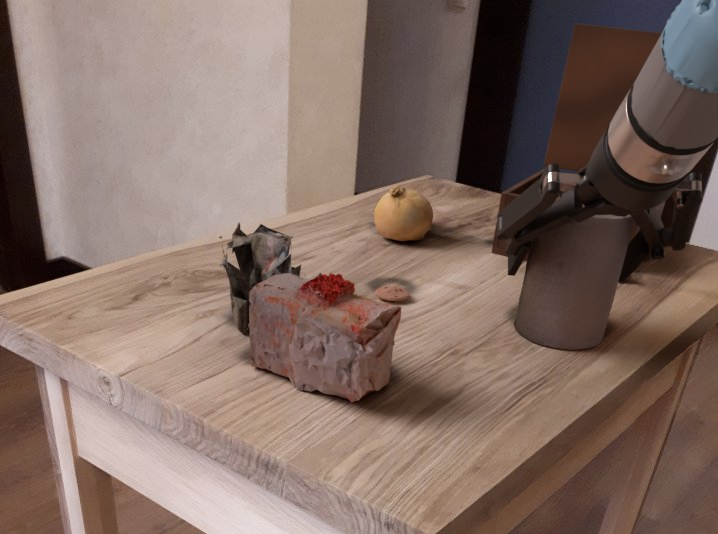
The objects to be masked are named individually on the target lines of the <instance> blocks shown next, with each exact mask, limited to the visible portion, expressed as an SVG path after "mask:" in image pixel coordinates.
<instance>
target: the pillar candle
mask: <svg viewBox="0 0 718 534" xmlns="http://www.w3.org/2000/svg"><path fill="white" fill-rule="evenodd" d="M583 207H585V206H584V205H583ZM634 223H635V222H634V220H633V218H632V216H630V215H627V216H626V217H623V216H615V215H610V214H609V215H595V216H593V217H590V218H588V219H586V220H584V221H582V222H579V223H578V222H576V221H574V220H573V221H571V222H569V223H567V224H565V225H562V226H560V227H558V228H556V229H554V230H552V231H550V232H548V233H545V234H543V235H541V236H539V237H537V238H535V239H533V240H531V248H530V250H529V253H528V258H527V261H526V264H525V270H524V276H523V281H522V285H521V290H520V293H519V297H518V304H517V311H516V316H515V318H514V322H513V325H514V329H515V331H516V332H517V333H518V334H519V335H520V336H522V337H523V338H525V339H527V340H528V341H531V342H532V343H536V344H538V345H540V346H544V347H550V348H553V349H559V350H573V351H575V350H585V349H591V348H594V347H596V346H598V345H600V343H601V342H602V340H603V338H604V336H605V332H606V328H607V325H608V321H609V318H610V314H611V311H612V308H613V303H614V300H615V296H616V293H617V289H618V285H619V282H618V281H619V277H620V274H621V270H622V267H623V263H624V259H625V255H626V252H627V248H628V244H629V241H630V237H631V234H632V230H633V226H634Z"/></svg>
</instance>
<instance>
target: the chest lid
mask: <svg viewBox="0 0 718 534" xmlns="http://www.w3.org/2000/svg"><path fill="white" fill-rule="evenodd" d="M661 34H662V32H657V31H648V30H647V31H646V30H638V29H630V28H621V27H613V26H611V27H610V26H603V25H594V24H586V23H576V22H575V23H574V25H573V29H572V34H571V37H570V38H571V39H570V43H569V47H568V52H567V57H566V61H565V65H564V69H563V75H562V80H561V84H560V89H559V92H558V97H557V101H556V107H555V112H554V116H553V121H552V125H551V130H550V134H549V138H548V142H547V148H546V153H545V157H544V162H543V166H545V167H547V165H549V164H558V165H559V166H560V170H566V171H571V172H576V173H577V172H578V171H579V170H580V169H581V168H583V167H585V166H586V165H587V164H588V163H589V161H590V158H591V156H592V153H593V151H594V149H595V147H596V146H597V144H598V142H599V141H600V139H601V137H602V136H603V134H604V132H605V130H606V129H607V127H608V126H609V124H610V122H611V120H612V119H613V117H614V115H615V113H616V111H617V110H618V108H619V106H620V105H621V103H622V102H623V100H624V98H625V97H626V95H627V93H628V92H629V90H630V88H631V87H632V85H633V84H634V82H635V80H636V79H637V77H638V75H639V73H640V72H641V70H642V68H643V66H644V64H645V63H646V61H647V59H648V57H649V55H650V54H651V52H652V50H653V48H654V46H655V45H656V43H657V41H658V39H659V38H660V36H661Z"/></svg>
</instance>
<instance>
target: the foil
mask: <svg viewBox="0 0 718 534" xmlns="http://www.w3.org/2000/svg"><path fill="white" fill-rule="evenodd" d="M218 238H219V239H223V236H222V235H220V236H219V237H218ZM293 238H294V236H293V235H292V236H290V235H289V234H288V235H287V234H285V233H282V232H280V231H277V230H274V229H272V228H270V227H267V226H265V225H264V224H262V223H260V224H259V225H258V227H257V228H256V229H255V230H254V231H253V232H252V233H249V234H248V235H247V234H246V233H245V232H244V231H243V230H242V229H241V223H240V222H239V221H238V222H237V226H236V228H235V229H234V231H233V233H232V235H231V240H230V241H229V242H227V243H226V248H225V250H224V246H223V244H221V245H222V246H221V248H222V254H223V255H222V258H221V261H220V262H221V263H220V267H222V268H223V270H225V272H226V276H227V279H228V282H229V283H228V284H229V297H230V306H231V313H232V316H233V318H234V319H233V320H234V323H235V326H236V329H237V331H238V332H239V333H240V334H243V333H245V334H247V332H248V328H249V326H250V323H249V305H250V300H249V293H250V291H251V290H252V288H253V287H254V286H255V285H257V284H259V283H260V282H262V281H264V280H267V279H268V278H270V277H271V276H273V275H278V274H286V273H291V274H293V275H296V276H298V277H300V276H301V270H302V264H299V265H298V266H296V267H295V266H292V253H290V250H291V246H292V239H293ZM228 249H229V250H230V249H231V254H234V255H235V260H234V262H235V263H237V265H236V266H235V265H233V264H232V263H230V262H229V261H228V254H226V255H225V253H226V251H227V250H228ZM303 273H304V276H305V278H307V277H306V273H305V272H303ZM300 278H301V277H300Z"/></svg>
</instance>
